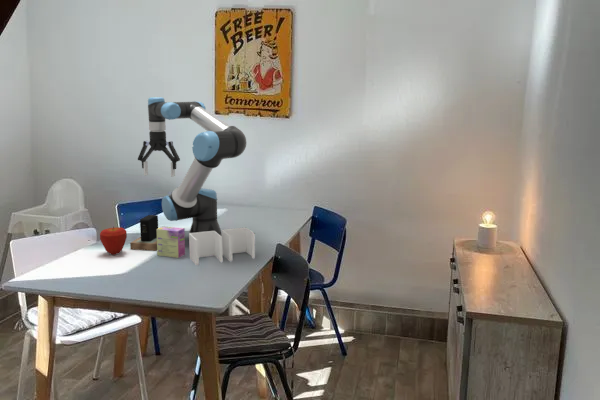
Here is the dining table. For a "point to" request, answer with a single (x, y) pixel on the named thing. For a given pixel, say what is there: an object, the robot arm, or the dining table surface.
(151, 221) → the electronic device
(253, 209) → the dining table surface
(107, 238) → the apple
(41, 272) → the dining table surface
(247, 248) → the white folding screen
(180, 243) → the box
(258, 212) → the dining table surface
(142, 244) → the wooden tray
